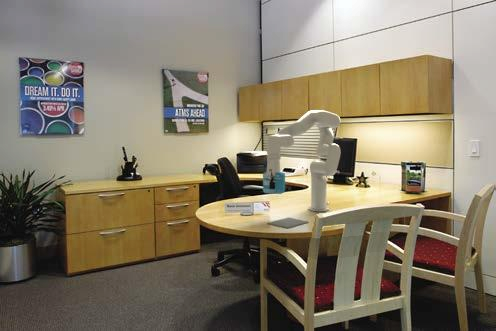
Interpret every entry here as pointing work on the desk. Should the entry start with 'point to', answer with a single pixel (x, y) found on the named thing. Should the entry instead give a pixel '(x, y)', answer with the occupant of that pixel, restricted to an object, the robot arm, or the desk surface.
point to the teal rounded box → (278, 183)
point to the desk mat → (288, 222)
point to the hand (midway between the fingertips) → (274, 188)
